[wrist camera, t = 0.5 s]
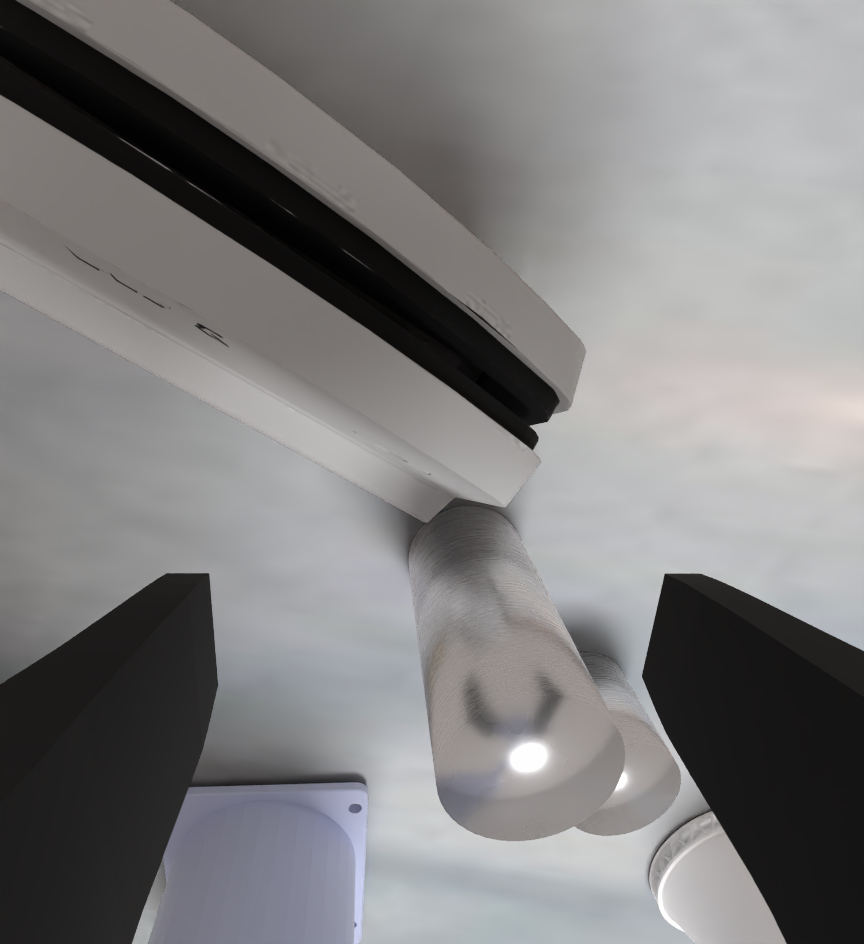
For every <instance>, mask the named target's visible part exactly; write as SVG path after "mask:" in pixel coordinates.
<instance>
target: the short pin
mask: <svg viewBox="0 0 864 944" xmlns="http://www.w3.org/2000/svg"><path fill="white" fill-rule="evenodd" d="M579 654H580V656H581V658H582V660H583V662H584V664H585V666H586V668H587V670H588V671H589V673H590V675H591V677H592V679H593V681H594V683H595V685H596V687H597V689H598V691H599V693H600V695H601V697H602V699H603V701H604V703H605V705H606V707H607V708H608V710H609V712H610V714H611V716H612V718H613V720H614V722H615V724H616V726H617V728H618V730H619V732H620V734H621V737H622V739H623V742H624V748H625V764H624V770H623V773H622V776H621V779H620V781H619V783H618V785H617V787H616V789H615V790H614V792H613V793H612V795H611V796H610V798H609V799H608V800H607V801H606V802H605V803H604V805H602V806H601V807H600V808H599V809H598V810H597V811H596V812H595V813H594V814H592V815H591V816H590V817H588V818H587V819H586V820H584V821H582V822H581V823H579V824H577V825H576V826H575V827H576V828H578V829H580V830H582V831H584V832H587V833H590V834H594V835H602V836H611V835H620V834H625V833H629V832H632V831H635V830H638V829H640V828H642V827H645V826H647V825H648V824H650V823H652V822H653V821H655V820H656V819H658V818H659V817H660V816H661V815H662V814H663V813H665V812H666V811H667V809H668V808H669V807H670V806H671V805H672V803H673V802H674V800H675V798H676V796H677V794H678V792H679V789H680V784H681V775H680V770H679V767H678V765H677V763H676V762H675V760H674V758H673V757H672V755H671V753H670V751H669V750H668V748H667V746H666V745H665V743H664V741H663V740H662V738H661V736H660V735H659V733H658V731H657V730H656V728H655V726H654V724H653V723H652V721H651V719H650V718H649V716H648V714H647V713H646V711H645V709H644V708H643V706H642V704H641V703H640V701H639V699H638V697H637V696H636V694H635V692H634V691H633V689H632V687H631V686H630V684H629V682H628V681H627V679H626V677H625V676H624V674H623V672H622V670H621V669H620V667H619V666H618V665H617V664H616V663H615V662H614V661H613V660H611V659H610V658H608V657H606V656H604V655H601V654H598V653H592V652H579Z"/></svg>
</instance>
